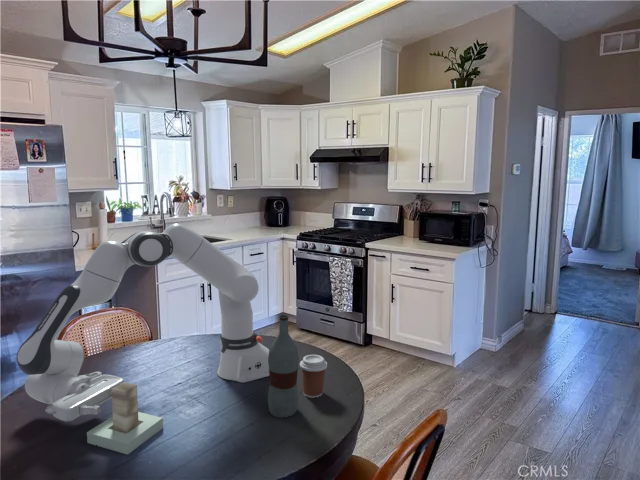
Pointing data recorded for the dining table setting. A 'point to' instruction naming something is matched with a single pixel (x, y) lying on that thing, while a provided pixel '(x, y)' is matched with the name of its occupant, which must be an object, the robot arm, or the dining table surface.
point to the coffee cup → (313, 375)
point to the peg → (125, 407)
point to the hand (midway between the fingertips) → (112, 402)
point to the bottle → (283, 373)
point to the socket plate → (122, 441)
